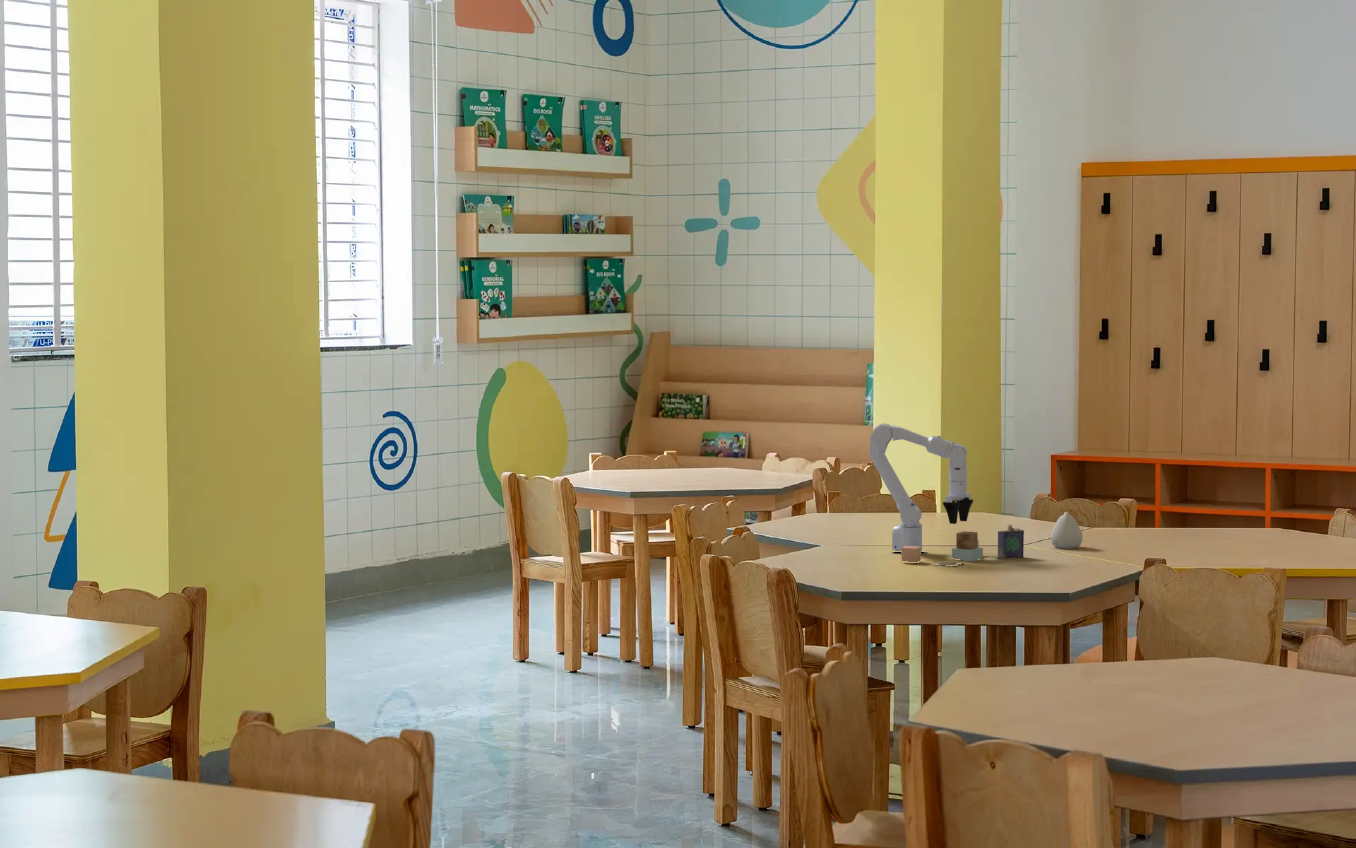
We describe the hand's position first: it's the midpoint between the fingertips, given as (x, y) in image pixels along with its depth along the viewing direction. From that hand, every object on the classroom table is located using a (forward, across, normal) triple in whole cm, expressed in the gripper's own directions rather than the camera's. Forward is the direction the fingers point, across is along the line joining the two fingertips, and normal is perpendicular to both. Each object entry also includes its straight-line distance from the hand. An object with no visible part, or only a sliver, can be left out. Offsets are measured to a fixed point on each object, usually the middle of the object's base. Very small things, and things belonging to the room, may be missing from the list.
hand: (958, 522), depth 476 cm
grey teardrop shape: (+11, +33, -24) cm, 42 cm away
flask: (+11, +1, -18) cm, 21 cm away
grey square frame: (+10, -23, -8) cm, 27 cm away
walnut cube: (+7, -10, -8) cm, 14 cm away
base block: (+11, -10, -8) cm, 17 cm away
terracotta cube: (+10, -25, +4) cm, 28 cm away
